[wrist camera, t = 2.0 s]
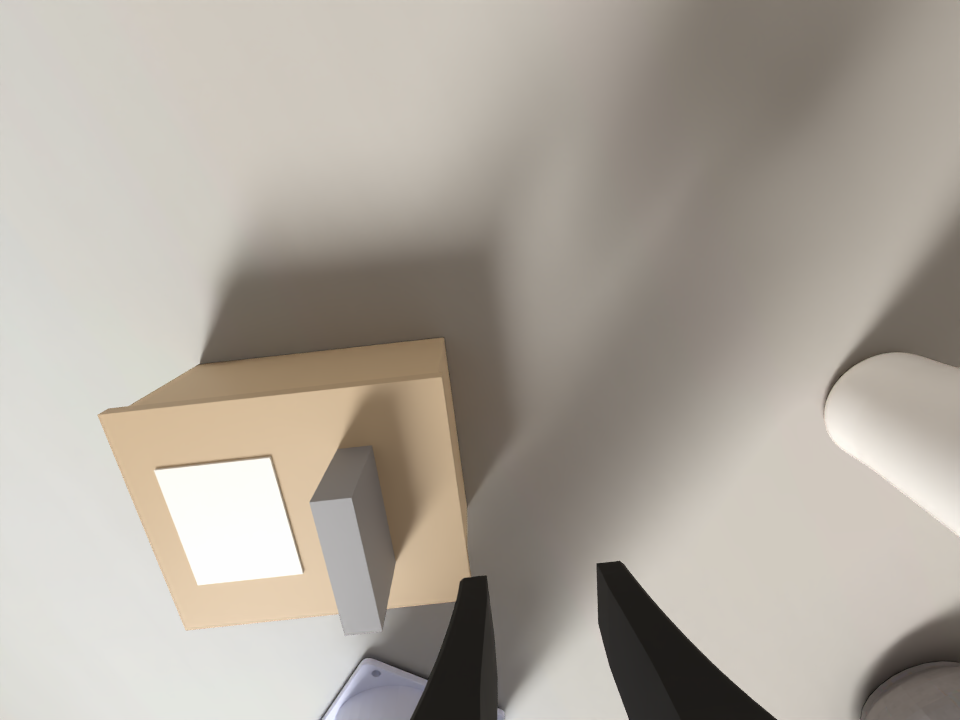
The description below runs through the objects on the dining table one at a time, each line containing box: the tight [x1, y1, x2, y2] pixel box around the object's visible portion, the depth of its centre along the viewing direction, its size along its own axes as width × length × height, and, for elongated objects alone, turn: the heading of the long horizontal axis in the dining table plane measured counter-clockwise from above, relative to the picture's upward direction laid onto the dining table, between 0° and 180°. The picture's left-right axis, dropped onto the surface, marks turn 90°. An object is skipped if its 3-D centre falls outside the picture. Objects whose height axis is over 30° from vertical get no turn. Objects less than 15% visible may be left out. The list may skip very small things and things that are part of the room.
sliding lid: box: [98, 372, 471, 636], centre depth 15 cm, size 11×9×4 cm
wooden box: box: [130, 337, 467, 543], centre depth 20 cm, size 11×9×5 cm
